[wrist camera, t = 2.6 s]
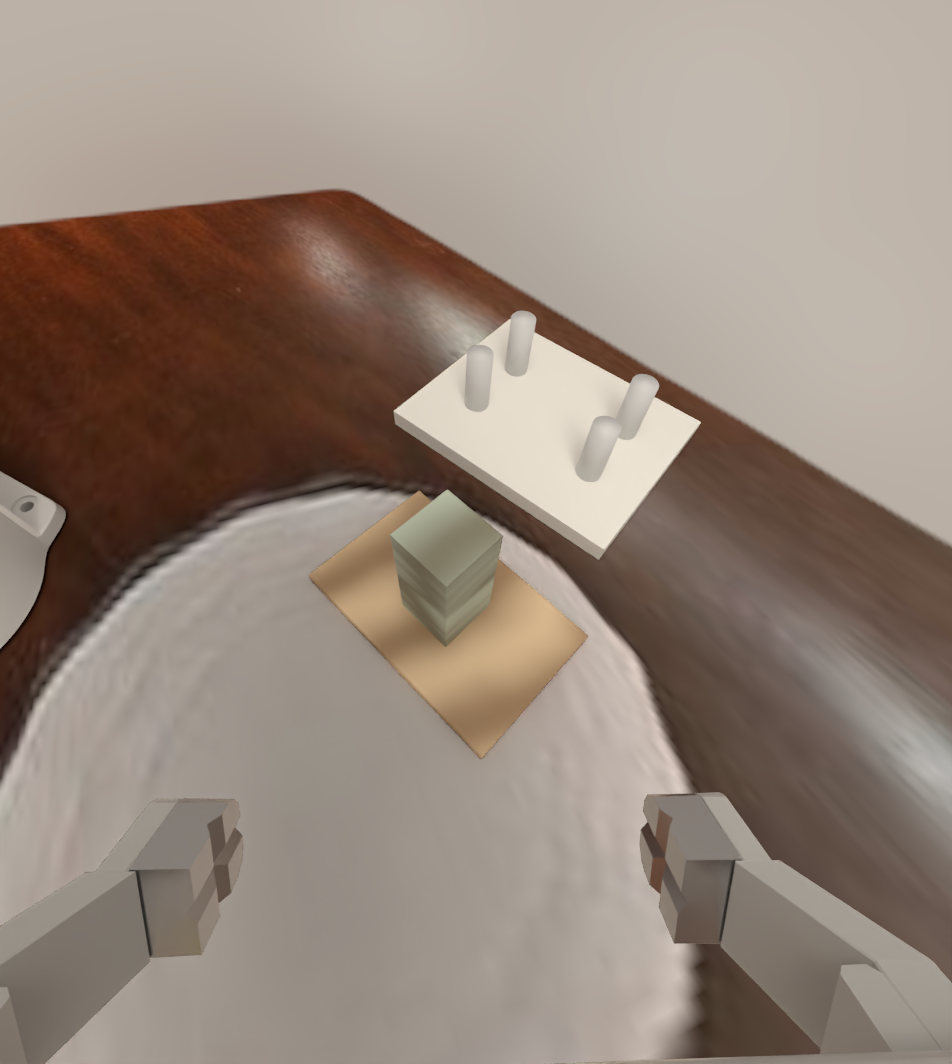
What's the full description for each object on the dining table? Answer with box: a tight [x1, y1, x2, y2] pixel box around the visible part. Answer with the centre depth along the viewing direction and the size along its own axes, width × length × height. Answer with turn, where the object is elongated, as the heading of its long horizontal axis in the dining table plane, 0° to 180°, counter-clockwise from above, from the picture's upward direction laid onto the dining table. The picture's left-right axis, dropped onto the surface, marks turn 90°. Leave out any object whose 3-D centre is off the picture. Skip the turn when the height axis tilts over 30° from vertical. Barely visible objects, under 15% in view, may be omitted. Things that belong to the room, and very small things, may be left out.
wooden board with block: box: [309, 490, 588, 759], centre depth 29 cm, size 16×10×10 cm, turn 46°
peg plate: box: [394, 311, 701, 560], centre depth 39 cm, size 20×16×6 cm
